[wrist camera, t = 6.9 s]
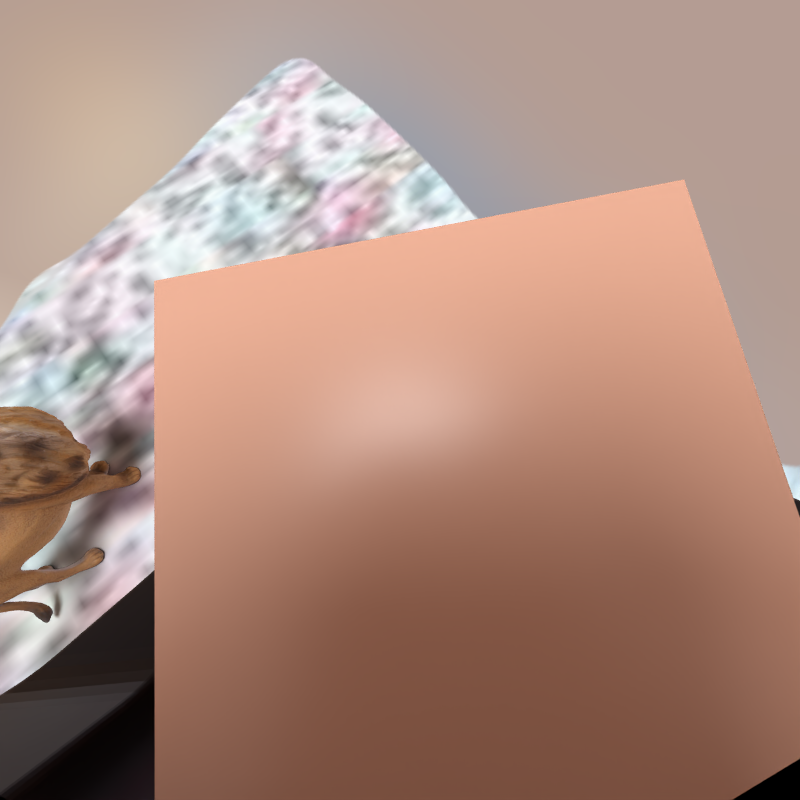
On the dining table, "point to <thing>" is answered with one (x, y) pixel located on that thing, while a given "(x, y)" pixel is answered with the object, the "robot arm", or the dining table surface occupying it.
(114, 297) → the dining table surface
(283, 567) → the brick column
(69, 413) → the dining table surface
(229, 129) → the dining table surface
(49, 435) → the lion figurine
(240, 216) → the dining table surface
